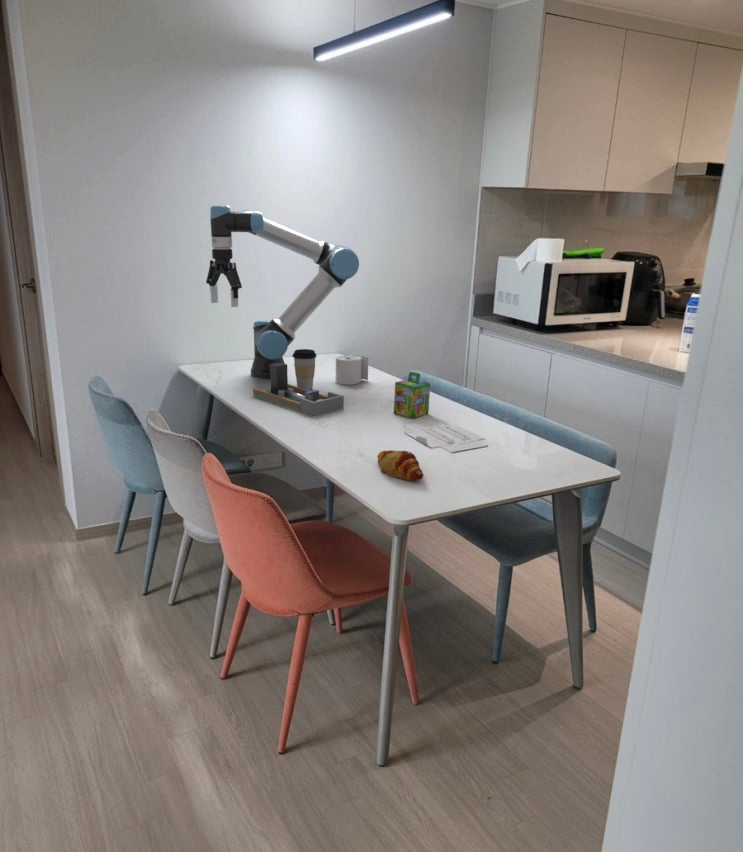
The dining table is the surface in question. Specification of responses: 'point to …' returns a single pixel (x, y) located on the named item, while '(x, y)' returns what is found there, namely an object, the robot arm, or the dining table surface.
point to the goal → (322, 405)
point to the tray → (445, 436)
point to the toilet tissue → (351, 369)
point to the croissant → (400, 464)
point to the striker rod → (281, 383)
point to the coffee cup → (304, 367)
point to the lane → (284, 397)
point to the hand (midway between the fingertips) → (224, 304)
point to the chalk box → (412, 397)
